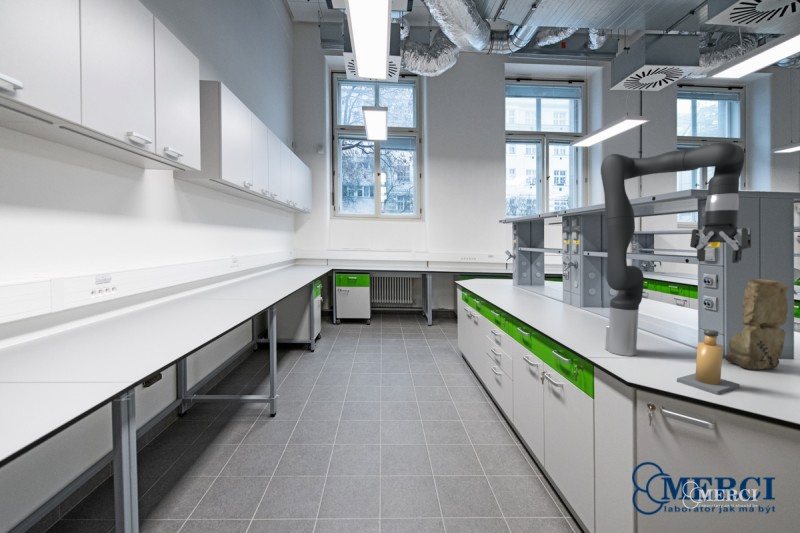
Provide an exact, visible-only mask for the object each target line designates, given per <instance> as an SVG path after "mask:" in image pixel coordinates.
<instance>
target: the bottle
mask: <svg viewBox="0 0 800 533" xmlns="http://www.w3.org/2000/svg"><path fill="white" fill-rule="evenodd" d="M703 335H704V341H700V342H697V350H696V364H695V373H696V376H695V379H696V380H697V381H699V382H702V383H706V384H711V385H719V384H720V380H721V379H722V378H721V377H722V364H723V363H722V362H723V355H724V354H723V352H724V346H723V345H721V344H717V341H718V340H717V337H718V336H719V331H718V330H714V329H707V328H706V329H703Z"/></svg>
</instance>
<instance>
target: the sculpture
mask: <svg viewBox="0 0 800 533" xmlns="http://www.w3.org/2000/svg"><path fill="white" fill-rule="evenodd" d="M788 288H789V284H788V283H786V282H782V281H778V280H774V279H773V280H772V279H763V278H759V279H758V278H754V279H749V280H748V282H747V287H746V288H745V289H744V292H743V294H744V295H743V296H744V298H743V299H742V308H743V309H742V310H743V311H742V313H741V322H742V324H743V325H745V326H744V327H743V328H742V330H741V331H740V332H739V333H735V334H733V335H732V336H731V338H729V342H728V347H729V351H730V352H729V353H728V354H727V355H725V358H724V359H725V361H726V362H728V363H731V364H736V365H737V366H739V367H740V368H744V369H746V370H751V371H752V370H753V371H754V370H760V371H761V370H773V369H776V368H777V367H778V365H779V364H780V360H779V359H780V357H781V356H782V354H783V353H782V352H783V350H784V344H785V339H786V331H785V330H784V329H782V328H781V326H782V325H783V326H784V324H786V322H787V320H788V317H787V314H788V311H789V309H788V308H789V307H788V298H787V296H786V294H787V292H788Z"/></svg>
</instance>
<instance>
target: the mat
mask: <svg viewBox="0 0 800 533" xmlns="http://www.w3.org/2000/svg"><path fill="white" fill-rule="evenodd" d="M695 376H696V372H695V373H691V374H689V375H684V376H680V377H677V378H676V382H677V383H681V384H683V385H687V386H690V387H693V388H695V389H698V390H701V391H704V392H708V393H711V394H714V395H718V396H719V395H720V394H723V393H727V392H729V391H733V390H736V389H739V388H740V387H741V384H740V383H737V382H733V381H732V380H727V379H723V378H721V380H720V384H719V385H711V384H706V383H702V382H699V381H697V380H696V379H695Z"/></svg>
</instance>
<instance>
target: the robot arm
mask: <svg viewBox="0 0 800 533" xmlns="http://www.w3.org/2000/svg"><path fill="white" fill-rule="evenodd" d="M745 157H746V156H745V150H744V149H743V147H741V146H740V145H737V144H735V143H732V142H727V141H724V142H715V143H710V144H706V145H703V146H699V147H693V148H685V149H677V150H673V151H667V152H664V153H660V154H657V155H655V156H649V157H629V156H626V155H624V154H623V155H622V154H618V153H611V154H608V155H607V156H605V158H604V159H603V160H602V163H601V165H600V175H601V181H602V182H601V183H602V186H603V193H604V206H605V207H604V208H605V227H606V228H605V230H606V242H607V243H606V247H607V251H606V252H607V256H606V275H605V276H606V282H607V284H608V286H609V287H610V288H611V289H612V290H614V291H618V293H617V294H616V296H614V297H612V298H611V299H610V301H609V322H608V325H606V327H605V328H606V329H605V330H606V331H605V350H606V351H608V352H609V353H612V354H615V355H618V356H627V357H629V356H630V357H631V356H633V357H634V356H636V355H637V348H638V346H637V344H638V329H639V311H640V310H639V309H640V304H641V303H642V300H643V292H644V284H645V283H644V282H645V280H644V278H645V277H644V274H643V271H642V270H641V268H639V267H638V266H636V265H628V263H627V253H628V249H629V246H630V243H631V242H632V240H633V237H634V234H635V230H636V223H635V222H636V221H635V212H634V209H633V206H632V204H631V201H630V199H629V196H628V194H627V191H626V188H625V187H626V186H625V183H626V182H625V181H626V180H629V179H630V180H631V179H634V178H638V177H642V176H648V175H656V174H664V173H667V174H668V173H678V172H679V173H680V172H688V171H689V172H690V171H695V170H698V169H700V168H710V167H714V170H713V171H714V172H713V175H712V176H713V177H711V178H710V179H709V180H708V183H707V185H708V186H707V197H706V200H705V201H706V202H705V208H704V212H705V214H704V227H703V229H699V228H698V229H697V228H695V229H692V230H691V236H690V237H691V238H690V245H689V247H690V248H694V249H695V250H697V252H696V253H697V254H696V259H697V260H698V262H705V261H706V251H707V250H706V248H707V247H708V246H709V245H711V244H712V243H713V244H714V243H726V244H727V245H729V246H730V247H732V249H733V250H732V256H731V257H732V258H731V262H732V263H733V264H739V262H740V261H741V260H742V255H743V250H746V249H750V248H752V229H751V228H750V227H743V228H738V226H737V225H738V221H739V220H738V218H739V206H740V205H739V204H740V199H739V198H740V197H739V190H740V189H739V188H740V178H741V177H740V176H741V174H742V171H743V167H744V164H745ZM702 234H703V235H704V236H705V237H704V238H703V239H702V240H701V236H702ZM737 235H739V236H741V244H740V242H739V241H738V240H737V238H736V237H735V236H737ZM700 240H701V241H700Z"/></svg>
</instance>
